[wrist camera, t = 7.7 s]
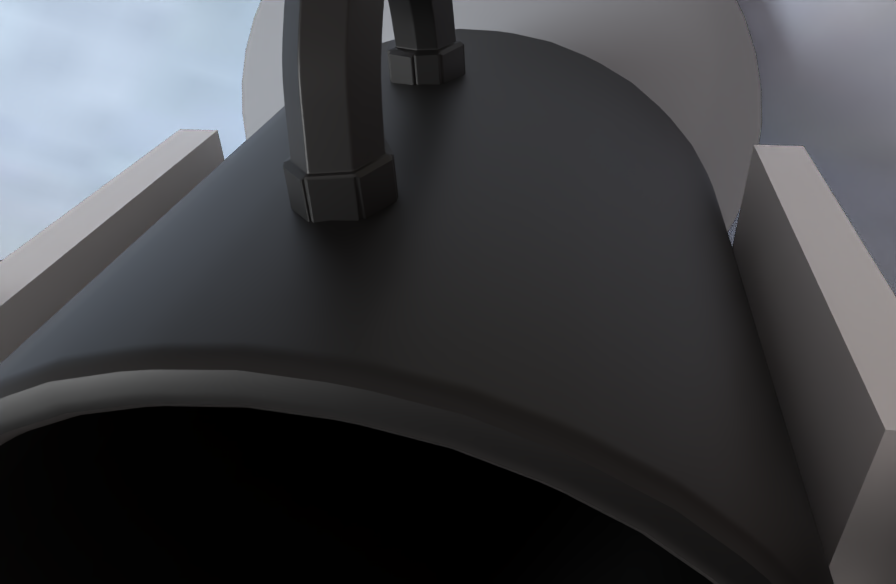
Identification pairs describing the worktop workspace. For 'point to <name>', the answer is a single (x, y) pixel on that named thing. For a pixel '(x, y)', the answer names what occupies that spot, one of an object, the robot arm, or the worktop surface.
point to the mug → (414, 346)
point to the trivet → (613, 45)
